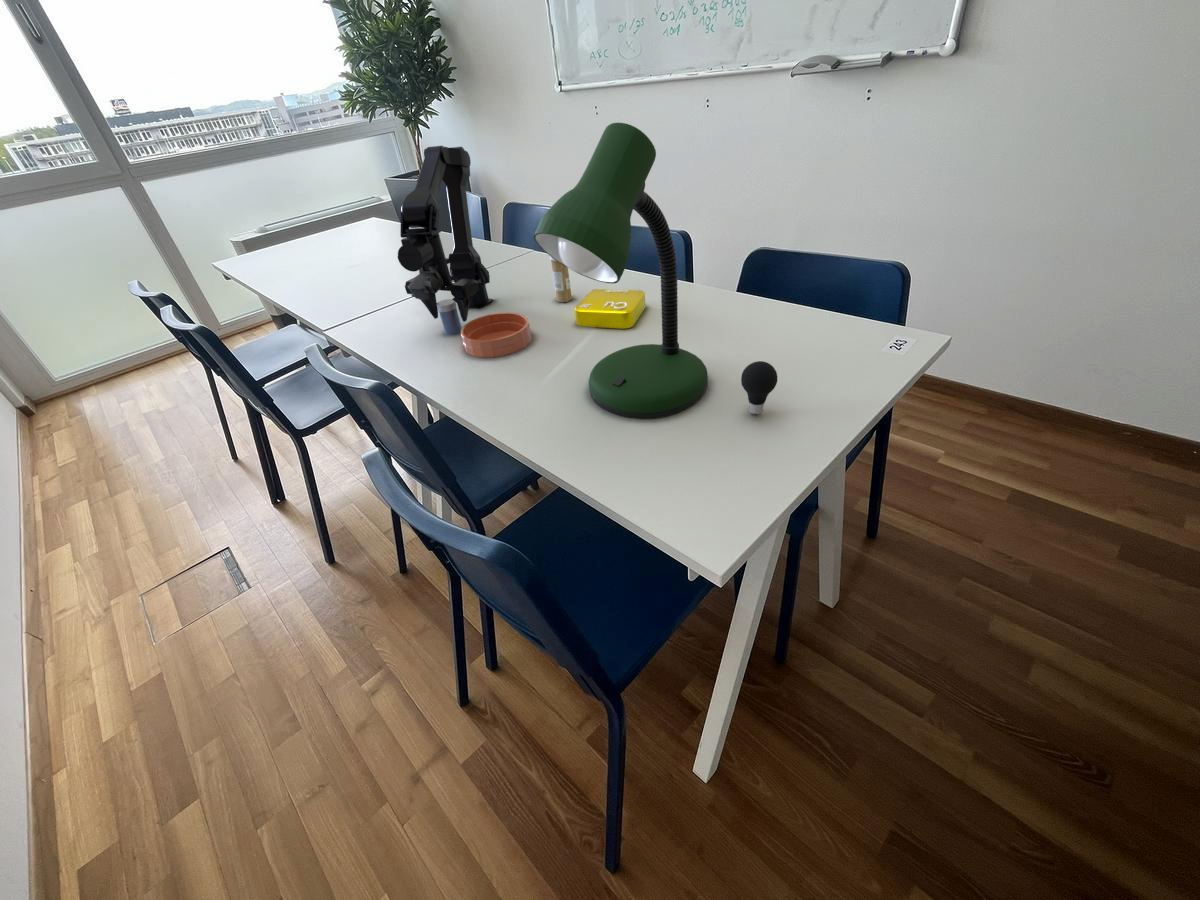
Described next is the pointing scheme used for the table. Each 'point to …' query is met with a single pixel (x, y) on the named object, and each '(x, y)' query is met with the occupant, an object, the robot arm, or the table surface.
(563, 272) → the sprinkles bottle
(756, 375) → the light bulb
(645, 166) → the desk lamp
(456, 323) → the salt shaker
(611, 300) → the element tile
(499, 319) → the bowl
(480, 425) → the table surface
